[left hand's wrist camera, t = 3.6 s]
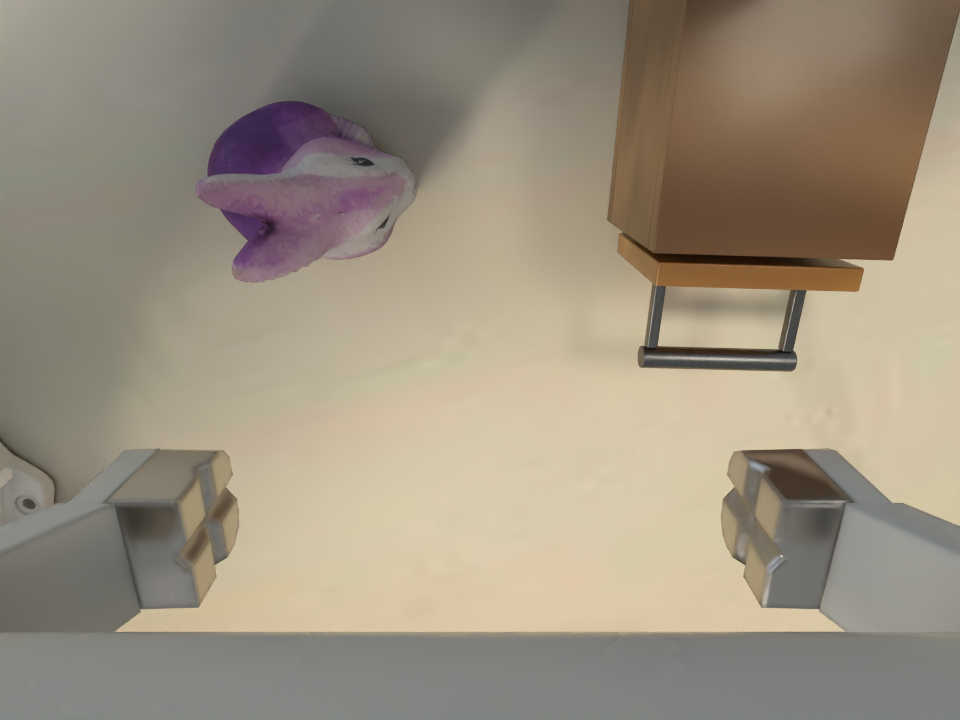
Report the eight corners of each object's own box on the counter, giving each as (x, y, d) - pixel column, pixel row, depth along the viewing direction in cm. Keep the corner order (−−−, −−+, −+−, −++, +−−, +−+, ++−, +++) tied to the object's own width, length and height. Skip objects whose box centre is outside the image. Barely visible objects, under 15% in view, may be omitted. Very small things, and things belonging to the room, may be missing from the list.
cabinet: (787, 226, 40) (893, 260, 30) (606, 220, 39) (653, 253, 29) (867, -166, 32) (1041, -292, 23) (647, -177, 32) (727, -310, 22)
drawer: (762, 341, 41) (833, 394, 33) (607, 337, 41) (641, 389, 33) (851, -101, 33) (976, -173, 25) (656, -109, 32) (718, -186, 24)
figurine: (444, 182, 38) (429, 216, 24) (321, 286, 40) (241, 374, 26) (336, 46, 35) (248, -4, 21) (210, 166, 38) (55, 191, 23)
